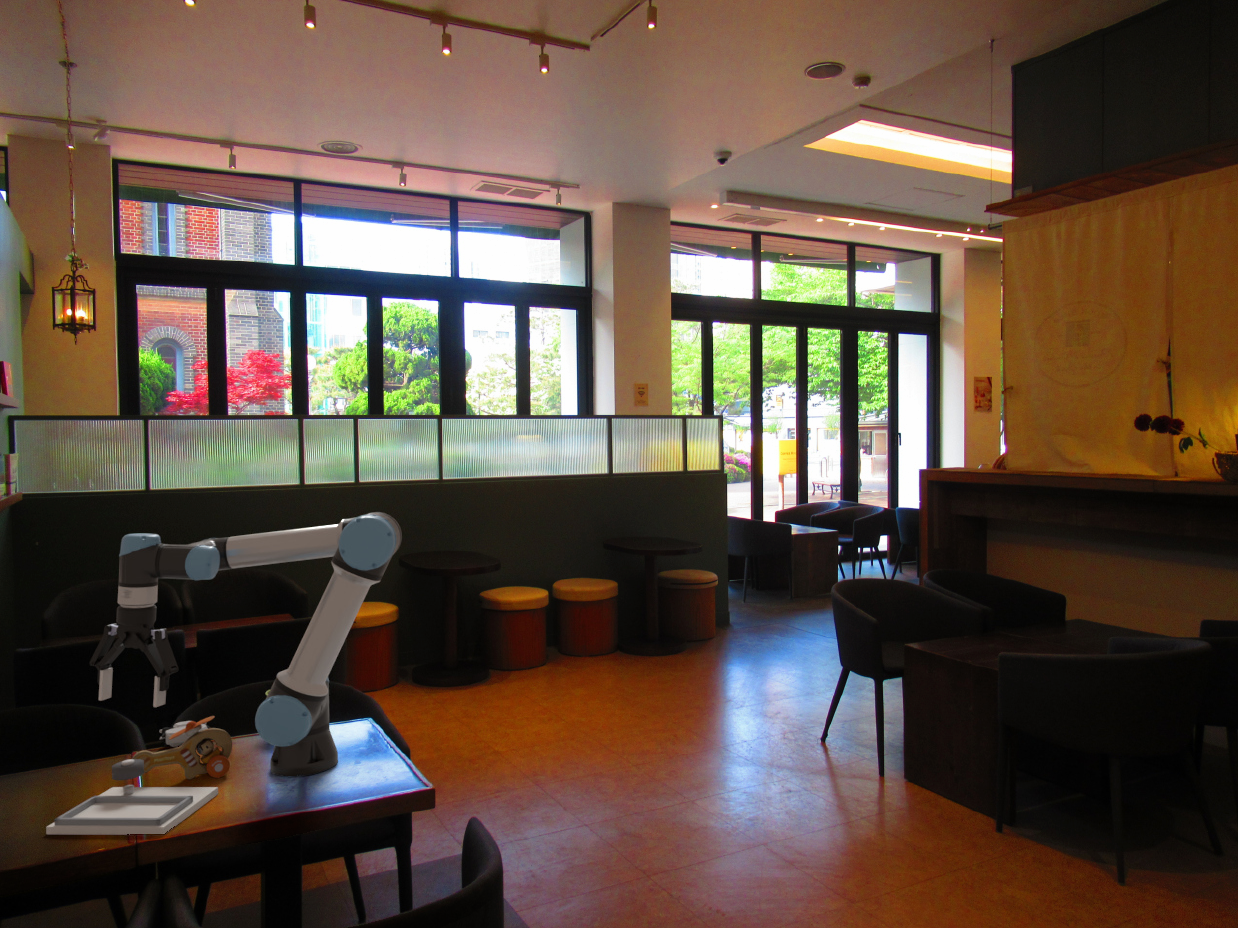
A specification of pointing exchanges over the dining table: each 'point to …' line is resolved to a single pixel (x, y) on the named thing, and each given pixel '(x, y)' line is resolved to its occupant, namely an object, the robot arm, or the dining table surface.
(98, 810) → the board
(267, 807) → the dining table surface
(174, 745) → the robot toy
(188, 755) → the toy helicopter
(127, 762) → the wheel
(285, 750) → the robot arm
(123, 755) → the dining table surface
